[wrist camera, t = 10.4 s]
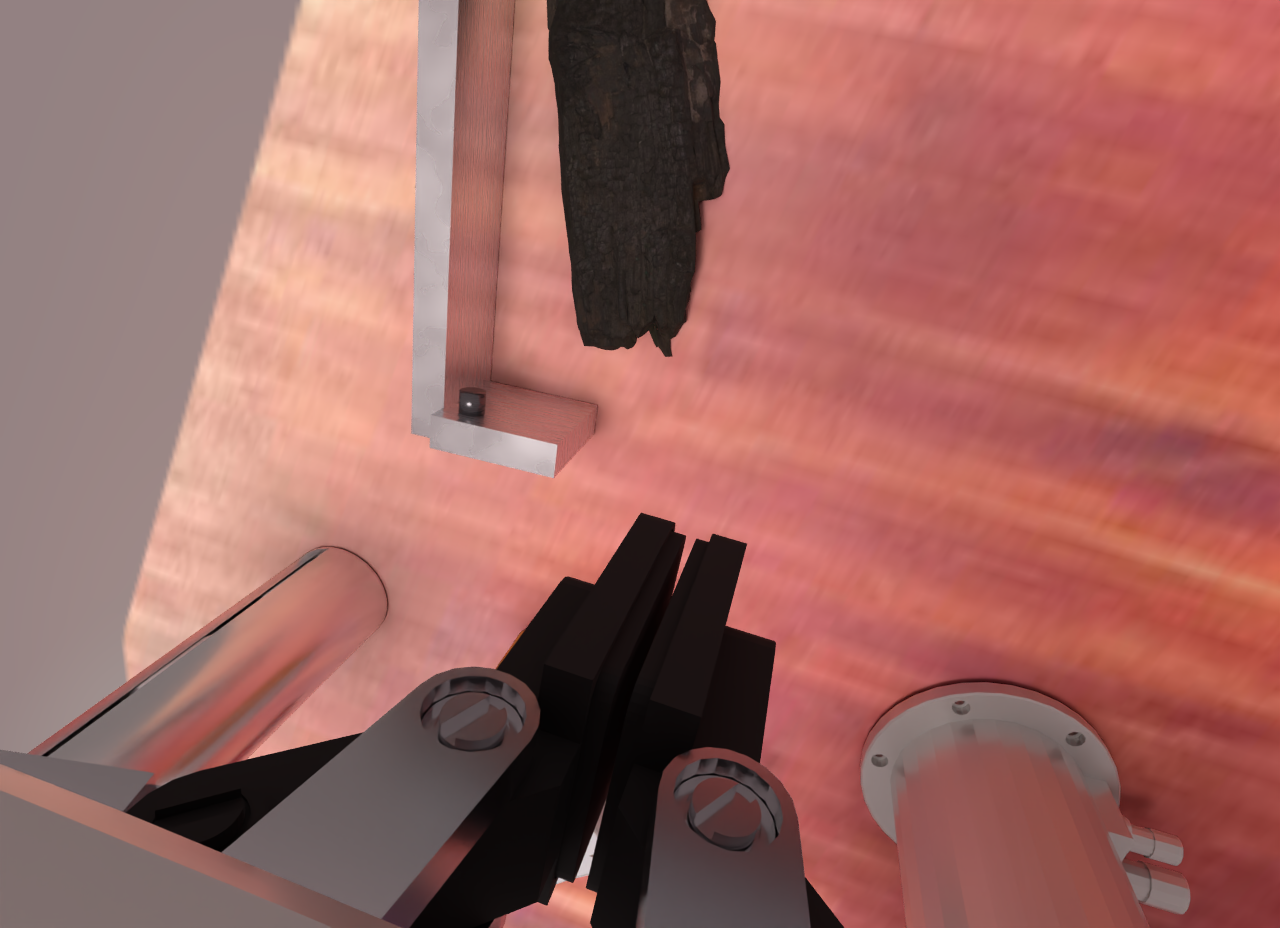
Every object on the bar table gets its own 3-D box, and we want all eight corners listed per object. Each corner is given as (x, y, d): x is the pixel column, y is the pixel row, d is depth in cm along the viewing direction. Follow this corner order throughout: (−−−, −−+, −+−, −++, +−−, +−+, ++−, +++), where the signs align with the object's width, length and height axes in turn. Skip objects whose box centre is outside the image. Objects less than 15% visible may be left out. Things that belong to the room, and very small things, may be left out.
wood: (732, 354, 34) (725, 369, 31) (585, 354, 35) (565, 369, 33) (728, -242, 26) (717, -292, 23) (539, -204, 28) (508, -247, 25)
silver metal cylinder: (296, 615, 46) (-204, 1025, 24) (298, 532, 44) (-263, 905, 21) (384, 647, 46) (-47, 1104, 23) (392, 565, 43) (-88, 990, 20)
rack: (688, -294, 25) (651, -425, 20) (594, 434, 36) (553, 478, 31) (493, -305, 26) (408, -430, 21) (460, 403, 38) (399, 440, 32)
